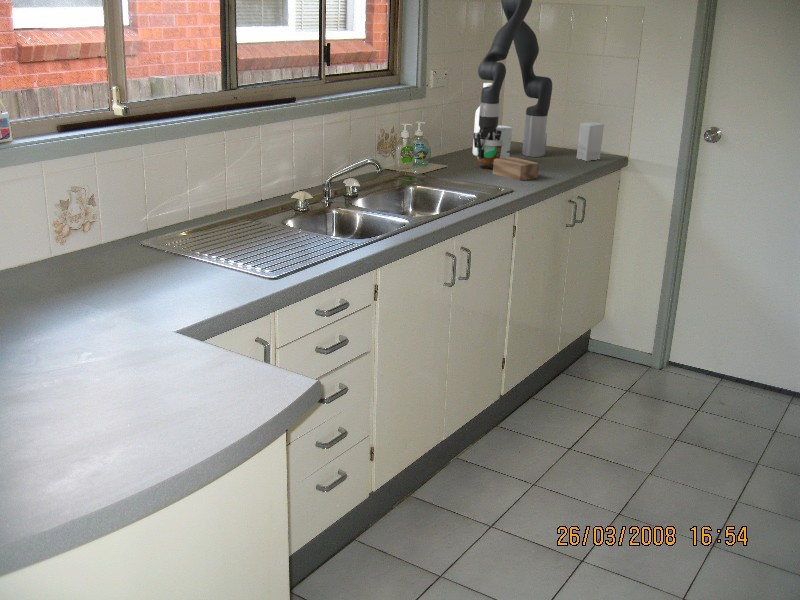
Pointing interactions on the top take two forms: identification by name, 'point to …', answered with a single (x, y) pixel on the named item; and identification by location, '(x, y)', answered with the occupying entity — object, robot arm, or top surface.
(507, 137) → the skincare box
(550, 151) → the top surface
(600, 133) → the skincare box
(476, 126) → the alcohol
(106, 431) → the top surface
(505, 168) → the walnut block
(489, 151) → the food container
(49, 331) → the top surface
